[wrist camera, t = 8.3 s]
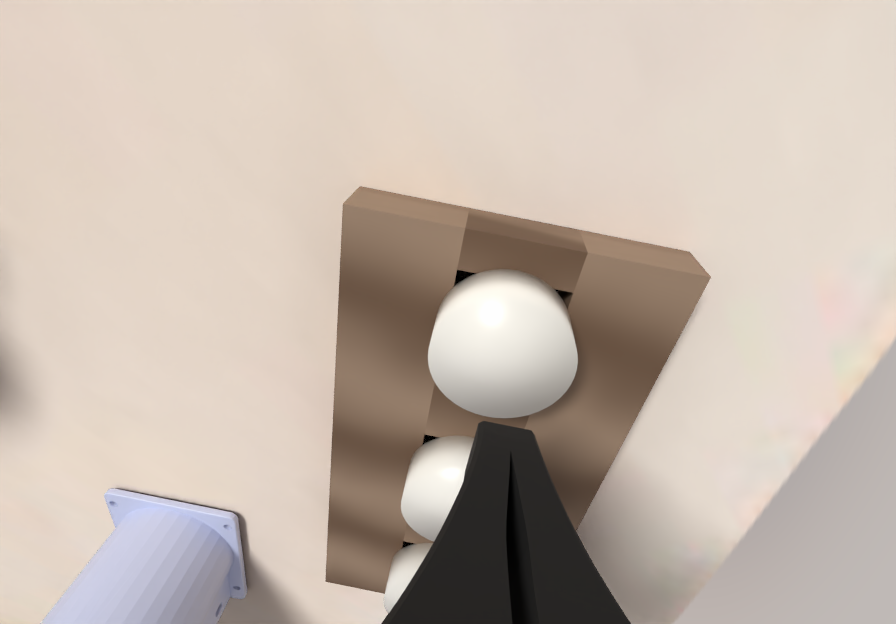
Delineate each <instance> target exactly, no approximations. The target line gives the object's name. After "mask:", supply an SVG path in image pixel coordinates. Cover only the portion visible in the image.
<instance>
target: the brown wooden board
mask: <svg viewBox="0 0 896 624" xmlns="http://www.w3.org/2000/svg"><path fill="white" fill-rule="evenodd" d="M497 269H509V270H516V271H521V272H525V273H528V274H531V275H533V276H536V277H538V278H539V279H541V280H543V281H544V282H546V283H547V284H549V285H550V286H551V287H552V288H553V289H557V290H559V292H558V294H559V295H560V297H561V298H562V300H563V301H564V303H565V305H566V307H567V310H568V313H569V317H570V322H571V326H572V330H573V335H574V339H575V344H576V349H577V354H578V365H577V371H576V374H575V377H574V380H573V382H572V384H571V385H570V387H569V388H568V390H567V391H566V392H565V393H564V394H563V396H562V397H561V398H560V399H558V400H557V401H556V402H555V403H553V404H552V405H550V406H549V407H547V408H545V409H543V410H541V411H539V412H536V413H533V414H531V415H526V416H522V417H516V418H493V417H486V416H482V415H478V414H475V413H472V412H470V411H467V410H465V409H463V408H461V407H460V406H458V405H456V404H455V403H453V402H452V401H451V400H450V399H448V398H447V397H446V396H445V395H444V394H443V393H442V392H441V391H440V389H439V388H438V387H437V385H436V383H435V382H434V380H433V378H432V375H431V373H430V369H429V365H428V349H429V345H430V341H431V337H432V333H433V329H434V325H435V321H436V317H437V313H438V309H439V307H440V304H441V302H442V301H443V299H444V297H445V296H446V295H447V293H448V292H449V291H450V290H451V289H452V288H453V287H454V284H455V279H456V274H457V270H462V271H467V272H472V273H480V272H484V271H489V270H497ZM710 278H711V277H710V275H709V274H708V273H707V272H706V271H705V270H704V268H703V267H702V266H701V265H700V264H699V262H698V261H697V260H696V259H695V258H694V257H693V255H692V254H691V253H690V252H687V251H682V250H677V249H672V248H667V247H662V246H657V245H652V244H647V243H642V242H637V241H632V240H627V239H622V238H617V237H612V236H607V235H602V234H597V233H592V232H587V231H582V230H577V229H572V228H567V227H562V226H557V225H551V224H546V223H541V222H536V221H531V220H526V219H521V218H516V217H511V216H506V215H501V214H496V213H491V212H486V211H481V210H476V209H471V208H466V207H461V206H456V205H451V204H446V203H441V202H436V201H431V200H426V199H421V198H416V197H411V196H406V195H401V194H396V193H391V192H386V191H381V190H376V189H371V188H366V187H359V188H358V189H357V190H356V191H355V192H354V193H353V194H352V195H351V196H350V197H349V198H348V199H347V200H346V201H345V202H344V203H343V214H342V236H341V258H340V280H339V301H338V323H337V345H336V367H335V388H334V410H333V432H332V454H331V475H330V497H329V519H328V541H327V562H326V582H330V583H335V584H340V585H345V586H350V587H355V588H360V589H365V590H370V591H375V592H379V593H384V594H385V591H386V586H387V582H388V577H389V572H390V568H391V563H392V559H393V557H394V555H395V554H396V553H397V552H398V551H399V550H400V549H402V547H403V542H404V541H405V542H410V543H415V544H418V543H433V541H431V540H428V539H427V538H425V537H423V536H421V535H420V534H418V533H417V532H416V531H414V530H413V529H412V528H411V527H410V526H409V525H408V523H407V522H406V521H405V519H404V517H403V515H402V511H401V500H402V496H403V491H404V487H405V482H406V478H407V473H408V469H409V465H410V461H411V458H412V456H413V454H414V453H415V452H416V450H417V449H418V448H419V447H421V446H422V445H423V441H424V435H430V436H435V437H445V436H468V437H473V438H474V437H475V433H476V430H477V426H478V423H480V422H482V421H487V422H492V423H498V424H503V425H508V426H513V427H518V428H523V429H528V430H532V432H533V433H534V435H535V437H536V440H537V443H538V446H539V449H540V452H541V454H542V457H543V459H544V462H545V465H546V467H547V469H548V472H549V474H550V477H551V479H552V482H553V484H554V486H555V488H556V491H557V493H558V495H559V497H560V499H561V502H562V504H563V506H564V508H565V510H566V512H567V514H568V517H569V519H570V521H571V523H572V525H573V527H574V529H575V531H576V530H577V528H578V526H579V524H580V523H581V521H582V519H583V517H584V515H585V513H586V511H587V509H588V507H589V506H590V504H591V502H592V500H593V498H594V496H595V494H596V492H597V491H598V489H599V487H600V485H601V483H602V481H603V479H604V477H605V476H606V474H607V472H608V470H609V468H610V466H611V464H612V462H613V460H614V459H615V457H616V455H617V453H618V451H619V449H620V447H621V445H622V444H623V442H624V440H625V438H626V436H627V434H628V432H629V430H630V428H631V427H632V425H633V423H634V421H635V419H636V417H637V415H638V413H639V412H640V410H641V408H642V406H643V404H644V402H645V400H646V398H647V397H648V395H649V393H650V391H651V389H652V387H653V385H654V383H655V381H656V380H657V378H658V376H659V374H660V372H661V370H662V368H663V366H664V365H665V363H666V361H667V359H668V357H669V355H670V353H671V351H672V349H673V348H674V346H675V344H676V342H677V340H678V338H679V336H680V334H681V333H682V331H683V329H684V327H685V325H686V323H687V321H688V319H689V318H690V316H691V314H692V312H693V310H694V308H695V306H696V304H697V302H698V301H699V299H700V297H701V295H702V293H703V291H704V289H705V287H706V286H707V284H708V282H709V280H710Z"/></svg>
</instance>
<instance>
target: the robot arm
mask: <svg viewBox="0 0 896 624" xmlns="http://www.w3.org/2000/svg"><path fill="white" fill-rule="evenodd" d="M104 498H105V500H106V503H107V506H108V509H109V511H110V514H111V517H112V519H113V522H114V525H115V530H114V531H113V532H112V533H111V535H110V536H109V537H108V538H107V540H106V541H105V542H104V544H103V545H102V546H101V547H100V549H99V550H98V551H97V552H96V554H95V555H94V556H93V557H92V559H91V560H90V561H89V562H88V564H87V565H86V566H85V567H84V569H83V570H82V571H81V573H80V574H79V575H78V576H77V578H76V579H75V580H74V581H73V583H72V584H71V585H70V586H69V588H68V589H67V590H66V591H65V593H64V594H63V595H62V597H61V598H60V599H59V600H58V602H57V603H56V604H55V605H54V607H53V608H52V609H51V610H50V612H49V613H48V614H47V615H46V617H45V618H44V619H43V620H42V622H41V623H40V624H217V623H218V621H219V619H220V617H221V615H222V613H223V611H224V609H225V607H226V605H227V603H228V601H229V598H230V597H232V598H237V599H243V598H245V596H246V594H247V585H246V577H245V569H244V561H243V553H242V546H241V538H240V530H239V522H238V517H237V516H236V515H235V514H234V513H232V512H228V511H223V510H218V509H213V508H208V507H203V506H198V505H193V504H189V503H184V502H179V501H174V500H169V499H164V498H159V497H154V496H149V495H144V494H139V493H134V492H130V491H125V490H120V489H114V488H111V489H109V490H108V491H107V492H106V493H105V494H104ZM382 624H631V623H630V622H629V620H628V619H627V617H626V616H625V614H624V612H623V611H622V609H621V608H620V606H619V605H618V603H617V602H616V600H615V599H614V597H613V595H612V594H611V592H610V591H609V589H608V587H607V586H606V584H605V582H604V581H603V579H602V577H601V576H600V574H599V573H598V571H597V569H596V567H595V566H594V564H593V562H592V560H591V559H590V557H589V555H588V553H587V551H586V550H585V548H584V546H583V544H582V542H581V540H580V538H579V536H578V534H577V532H576V531H575V529H574V527H573V525H572V523H571V521H570V519H569V517H568V514H567V512H566V510H565V508H564V506H563V504H562V502H561V499H560V497H559V495H558V493H557V491H556V488H555V486H554V484H553V482H552V479H551V477H550V474H549V472H548V469H547V467H546V465H545V462H544V459H543V457H542V454H541V452H540V449H539V446H538V443H537V440H536V437H535V435H534V433H533V432H532V430H528V429H523V428H518V427H513V426H508V425H503V424H498V423H492V422H487V421H482V422H480V423H478V426H477V430H476V433H475V437H474V441H473V444H472V448H471V451H470V455H469V458H468V462H467V466H466V469H465V475H464V481H463V483H462V486H461V488H460V491H459V493H458V495H457V497H456V499H455V501H454V504H453V506H452V508H451V510H450V512H449V514H448V516H447V518H446V520H445V522H444V524H443V526H442V528H441V530H440V532H439V533H438V535H437V537H436V539H435V541H434V542H433V544H432V546H431V548H430V550H429V551H428V553H427V555H426V556H425V558H424V560H423V561H422V563H421V565H420V566H419V568H418V570H417V571H416V573H415V574H414V576H413V578H412V579H411V581H410V583H409V584H408V586H407V587H406V589H405V590H404V592H403V593H402V595H401V596H400V598H399V599H398V601H397V602H396V604H395V605H394V606H393V608H392V609H391V611H390V612H389V614H388V615H387V617H386V618H385V619H384V621H383V622H382Z"/></svg>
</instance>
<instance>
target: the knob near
mask: <svg viewBox="0 0 896 624" xmlns="http://www.w3.org/2000/svg"><path fill="white" fill-rule="evenodd" d="M428 365H429V369H430V373H431V375H432V378H433V380H434V382H435V383H436V385H437V387H438V388H439V389H440V391H441V392H442V393H443V394H444V395H445V396H446V397H447V398H448V399H450V400H451V401H452V402H453V403H455V404H456V405H458V406H460V407H461V408H463V409H465V410H467V411H470V412H472V413H475V414H478V415H482V416H486V417H493V418H516V417H522V416H526V415H531V414H533V413H536V412H539V411H541V410H543V409H545V408H547V407H549V406H550V405H552V404H553V403H555V402H556V401H557V400H558V399H560V398H561V397H562V396H563V394H564V393H565V392H566V391H567V390H568V388H569V387H570V385H571V384H572V382H573V380H574V377H575V374H576V371H577V365H578V354H577V349H576V344H575V339H574V335H573V330H572V326H571V322H570V317H569V313H568V310H567V307H566V305H565V303H564V301H563V300H562V298H561V297H560V295H559V294H558V293H557V292H556V291H555V290H554V289H553V288H552V287H551V286H550V285H549V284H547V283H546V282H544V281H543V280H541V279H539V278H538V277H536V276H533V275H531V274H528V273H525V272H521V271H516V270H509V269H497V270H489V271H484V272H480V273H477V274H474V275H472V276H470V277H468V278H466V279H464V280H462V281H461V282H459V283H458V284H456V285H455V286H454V287H453V288H452V289H451V290H450V291H449V292H448V293H447V295H446V296H445V297H444V299H443V301H442V302H441V304H440V307H439V309H438V313H437V317H436V321H435V325H434V329H433V333H432V337H431V341H430V345H429V349H428Z"/></svg>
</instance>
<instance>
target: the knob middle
mask: <svg viewBox="0 0 896 624" xmlns="http://www.w3.org/2000/svg"><path fill="white" fill-rule="evenodd" d="M473 441H474V438H473V437H468V436H445V437H437V438H436V439H434V440H431V441H429V442H427V443H425V444H423V445H422V446H421V447H419V448H418V449H417V450H416V452H415V453H414V454H413V456H412V458H411V461H410V465H409V469H408V473H407V478H406V482H405V487H404V491H403V496H402V500H401V511H402V515H403V517H404V519H405V521H406V522H407V523H408V525H409V526H410V527H411V528H412V529H413V530H414V531H416V532H417V533H418V534H420V535H421V536H423V537H425V538H427V539H428V540H431V541H433V542H434V541H435V539H436V537H437V535H438V533H439V532H440V530H441V528H442V526H443V524H444V522H445V520H446V518H447V516H448V514H449V512H450V510H451V508H452V506H453V504H454V501H455V499H456V497H457V495H458V493H459V491H460V488H461V486H462V483H463V481H464V475H465V469H466V466H467V462H468V458H469V455H470V451H471V448H472V444H473Z"/></svg>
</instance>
